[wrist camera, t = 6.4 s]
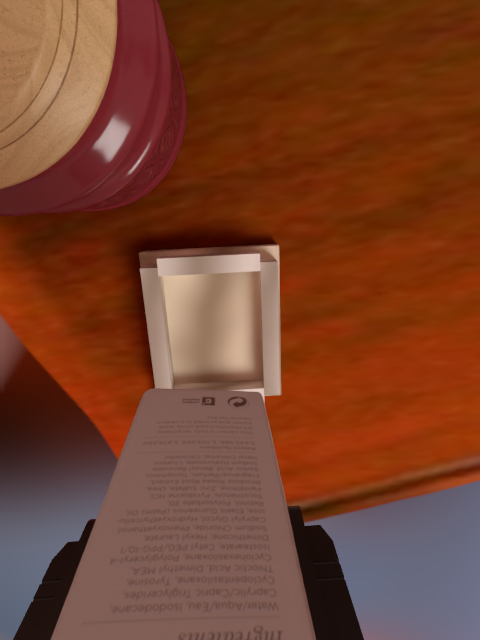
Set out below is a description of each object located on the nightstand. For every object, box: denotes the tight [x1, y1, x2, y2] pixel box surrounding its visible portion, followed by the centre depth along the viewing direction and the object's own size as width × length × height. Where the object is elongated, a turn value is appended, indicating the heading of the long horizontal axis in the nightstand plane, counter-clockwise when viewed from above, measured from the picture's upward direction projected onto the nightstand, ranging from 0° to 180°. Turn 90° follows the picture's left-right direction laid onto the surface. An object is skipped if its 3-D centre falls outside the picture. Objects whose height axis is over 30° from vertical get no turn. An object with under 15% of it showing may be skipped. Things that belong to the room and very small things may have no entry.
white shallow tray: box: [139, 244, 281, 400], centre depth 28 cm, size 10×12×2 cm
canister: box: [0, 0, 187, 216], centre depth 16 cm, size 13×13×18 cm
